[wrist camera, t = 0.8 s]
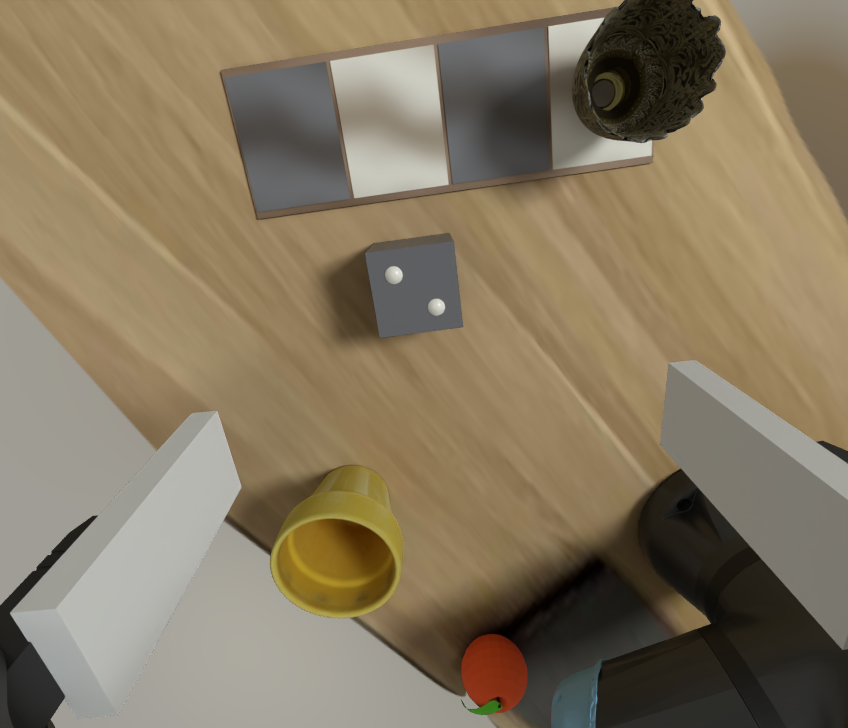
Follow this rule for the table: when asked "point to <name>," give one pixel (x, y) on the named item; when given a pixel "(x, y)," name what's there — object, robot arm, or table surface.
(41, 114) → the table surface
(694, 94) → the olive textured vase
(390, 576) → the plant pot
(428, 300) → the die
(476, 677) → the clementine
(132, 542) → the robot arm
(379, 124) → the game board
